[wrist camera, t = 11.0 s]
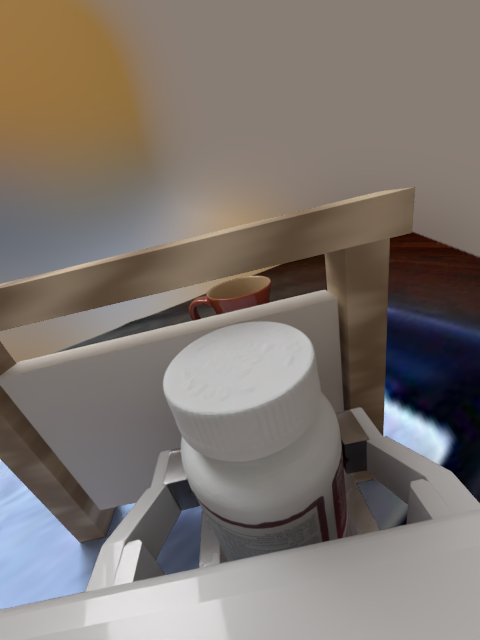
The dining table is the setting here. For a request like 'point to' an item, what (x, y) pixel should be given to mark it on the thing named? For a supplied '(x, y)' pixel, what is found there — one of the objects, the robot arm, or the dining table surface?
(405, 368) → the dining table surface
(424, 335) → the dining table surface
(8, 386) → the door
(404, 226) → the door frame
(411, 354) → the dining table surface
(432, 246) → the dining table surface
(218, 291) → the mug
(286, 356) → the pill bottle
